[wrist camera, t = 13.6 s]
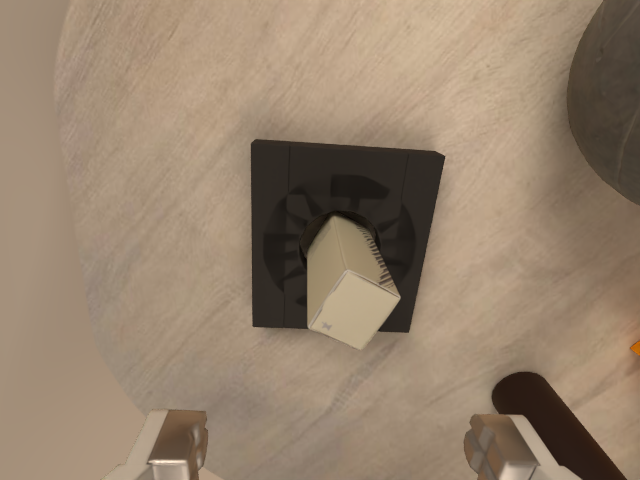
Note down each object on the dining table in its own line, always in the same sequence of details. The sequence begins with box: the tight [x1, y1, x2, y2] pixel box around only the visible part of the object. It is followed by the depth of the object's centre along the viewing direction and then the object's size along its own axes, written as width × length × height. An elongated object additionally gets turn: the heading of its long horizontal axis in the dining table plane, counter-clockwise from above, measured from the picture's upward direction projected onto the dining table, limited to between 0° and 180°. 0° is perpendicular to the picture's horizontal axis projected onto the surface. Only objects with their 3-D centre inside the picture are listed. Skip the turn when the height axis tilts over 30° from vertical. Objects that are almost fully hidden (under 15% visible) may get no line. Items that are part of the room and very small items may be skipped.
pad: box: [251, 139, 445, 333], centre depth 33 cm, size 16×18×2 cm
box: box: [307, 211, 401, 350], centre depth 28 cm, size 5×4×13 cm
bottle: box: [492, 372, 627, 480], centre depth 34 cm, size 7×7×20 cm
